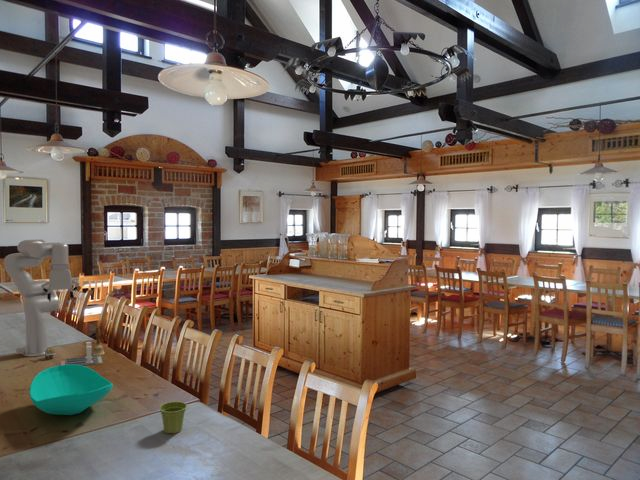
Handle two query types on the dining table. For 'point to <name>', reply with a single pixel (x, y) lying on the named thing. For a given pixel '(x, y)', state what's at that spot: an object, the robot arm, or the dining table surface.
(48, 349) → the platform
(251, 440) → the dining table surface
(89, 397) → the table top decor
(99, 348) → the hand bell
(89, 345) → the handle
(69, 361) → the panel
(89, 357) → the handle
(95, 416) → the dining table surface
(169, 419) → the plant pot
